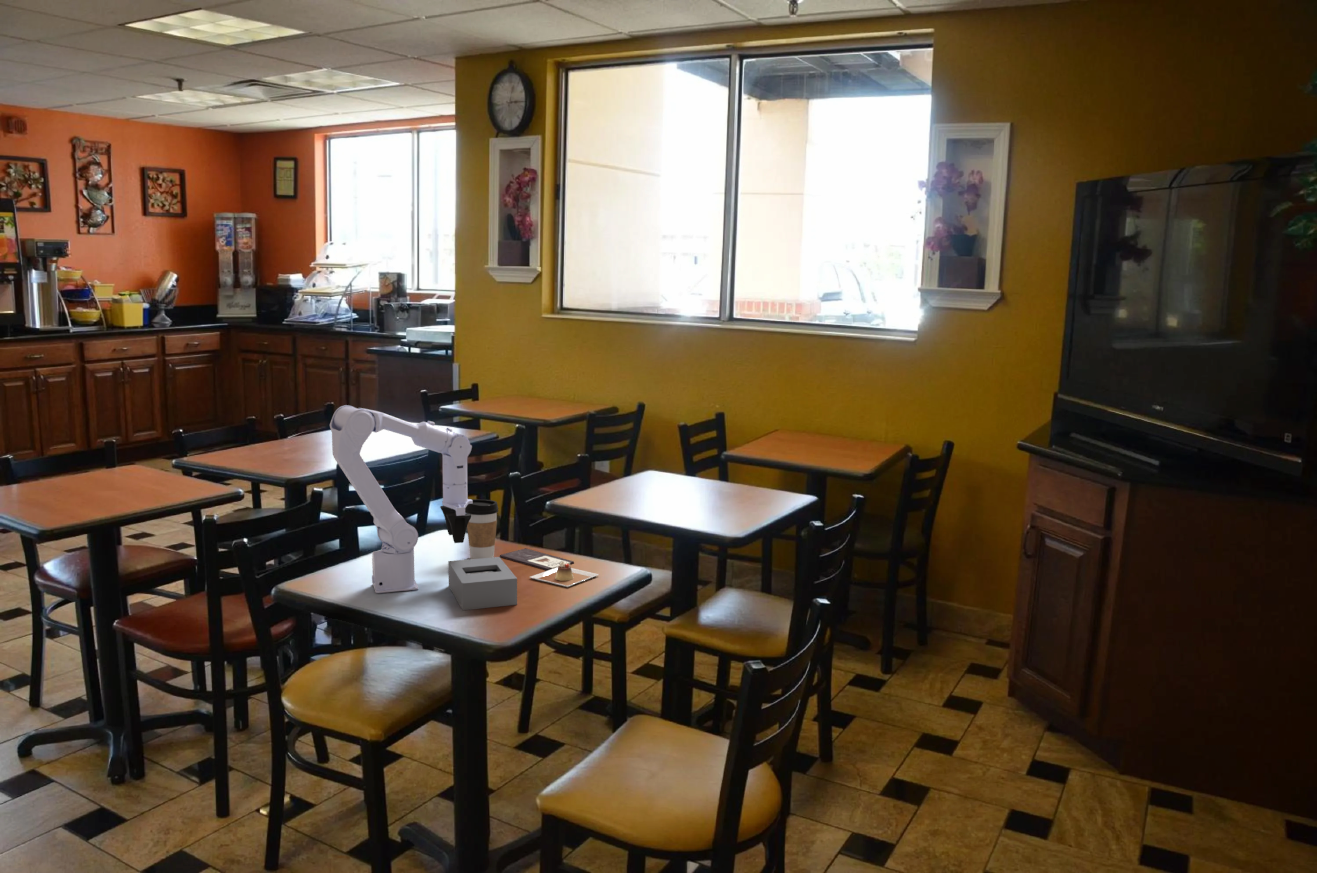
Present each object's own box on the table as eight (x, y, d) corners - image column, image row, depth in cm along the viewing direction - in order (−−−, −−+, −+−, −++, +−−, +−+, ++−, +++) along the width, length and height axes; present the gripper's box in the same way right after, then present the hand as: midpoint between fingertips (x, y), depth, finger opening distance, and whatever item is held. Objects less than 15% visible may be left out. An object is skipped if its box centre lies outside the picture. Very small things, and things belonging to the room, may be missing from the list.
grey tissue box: (462, 610, 212) (462, 583, 211) (448, 586, 229) (448, 561, 228) (517, 604, 217) (517, 578, 216) (499, 581, 233) (499, 556, 232)
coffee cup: (464, 554, 256) (463, 498, 253) (497, 553, 258) (497, 497, 255) (466, 563, 248) (465, 505, 245) (500, 561, 250) (499, 504, 247)
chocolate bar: (525, 548, 261) (573, 561, 249) (525, 551, 261) (573, 565, 250) (499, 554, 254) (548, 568, 243) (499, 558, 254) (548, 572, 243)
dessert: (599, 578, 239) (599, 559, 238) (567, 591, 229) (567, 571, 228) (561, 569, 245) (561, 551, 245) (529, 581, 236) (528, 562, 235)
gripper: (477, 487, 228) (478, 544, 230) (466, 476, 241) (467, 530, 243) (447, 489, 225) (448, 547, 227) (437, 477, 238) (438, 532, 241)
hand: (455, 538), depth 235 cm, fingers open, 7 cm apart
